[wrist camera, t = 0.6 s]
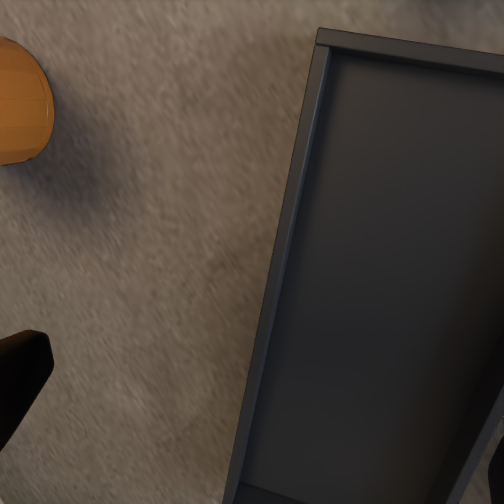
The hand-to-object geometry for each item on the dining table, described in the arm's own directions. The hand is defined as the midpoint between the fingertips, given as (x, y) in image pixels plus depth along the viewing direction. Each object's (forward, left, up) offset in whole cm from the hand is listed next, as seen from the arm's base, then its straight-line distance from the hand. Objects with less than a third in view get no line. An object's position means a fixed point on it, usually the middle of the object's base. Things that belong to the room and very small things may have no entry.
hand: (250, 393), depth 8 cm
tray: (-6, -5, -14) cm, 16 cm away
